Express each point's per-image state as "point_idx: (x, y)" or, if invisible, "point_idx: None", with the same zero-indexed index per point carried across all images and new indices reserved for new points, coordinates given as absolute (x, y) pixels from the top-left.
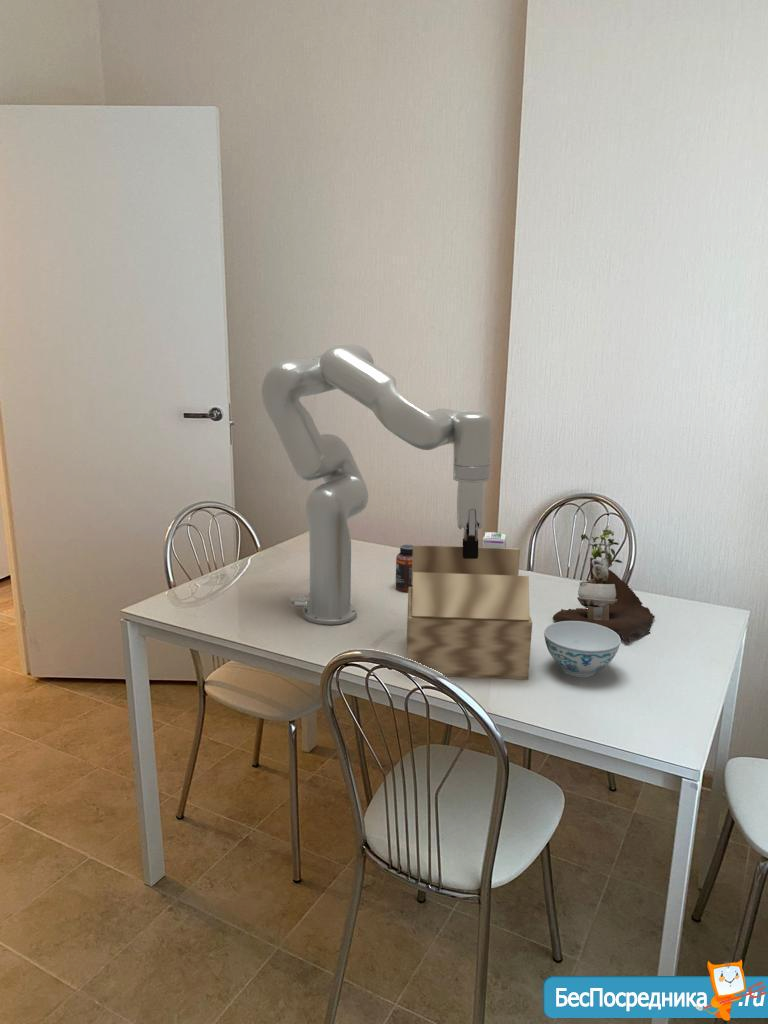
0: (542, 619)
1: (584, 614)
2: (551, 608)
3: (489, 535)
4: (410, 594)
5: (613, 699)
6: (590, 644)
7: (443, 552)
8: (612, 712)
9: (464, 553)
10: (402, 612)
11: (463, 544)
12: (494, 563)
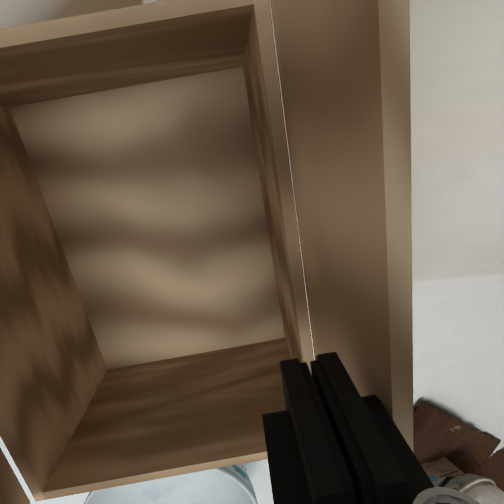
0: (433, 378)
1: (456, 453)
2: (501, 391)
3: None
4: (146, 16)
5: (82, 495)
6: (234, 494)
7: (358, 202)
8: (31, 494)
9: (286, 393)
10: (457, 5)
11: (305, 454)
12: None
